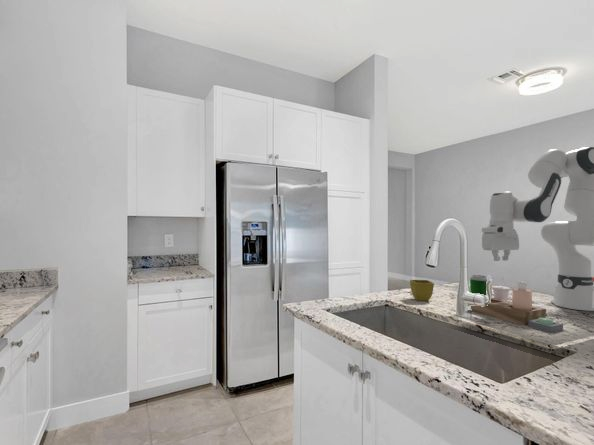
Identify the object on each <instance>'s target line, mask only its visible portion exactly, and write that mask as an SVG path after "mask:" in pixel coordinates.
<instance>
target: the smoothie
mask: <svg viewBox="0 0 594 445" xmlns="http://www.w3.org/2000/svg"><path fill="white" fill-rule="evenodd" d="M491 289H492V290H493V292H492V293H493V296H494V297H493V298H497V299H502V300H506V301H508V297H509V291H510V290H511V289H510V287H508V286H504V277H503V276H501V285H492V288H491Z"/></svg>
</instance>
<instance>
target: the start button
mask: <svg viewBox="0 0 594 445" xmlns="http://www.w3.org/2000/svg"><path fill="white" fill-rule="evenodd" d="M538 322H539V323H543V324H547V325H552V324H553V322H554V320H553V319H552V318H549V317H546V318H538Z"/></svg>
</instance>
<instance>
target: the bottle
mask: <svg viewBox="0 0 594 445" xmlns="http://www.w3.org/2000/svg"><path fill="white" fill-rule="evenodd" d="M527 283H528V282H526V281H517V288H512V289H511V290H512V294H511V295H512V300H511V302H512V308H516V309H521V310H525V311H528V310H532V306H533V290H530V289H527V288H528V284H527Z"/></svg>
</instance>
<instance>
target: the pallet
mask: <svg viewBox="0 0 594 445" xmlns="http://www.w3.org/2000/svg"><path fill="white" fill-rule="evenodd" d="M471 309H472V311H471V312H473V313H478V314H481V315H485V316H488V317H491V318H496V319H498V320H499V319H500V320H503V321H508V322H511V323H516V324H519V325H522V326H528V324H529V321H530V320H535V319H538V318H547V308H544V307H540V306H535V305H532V310H528V311H525V310H521V309H516V308H512V300H507V301H506V300H502V299H497V298H494V297H492V298H491V303H489V304H488V306H486V307H481V306H471Z"/></svg>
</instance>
